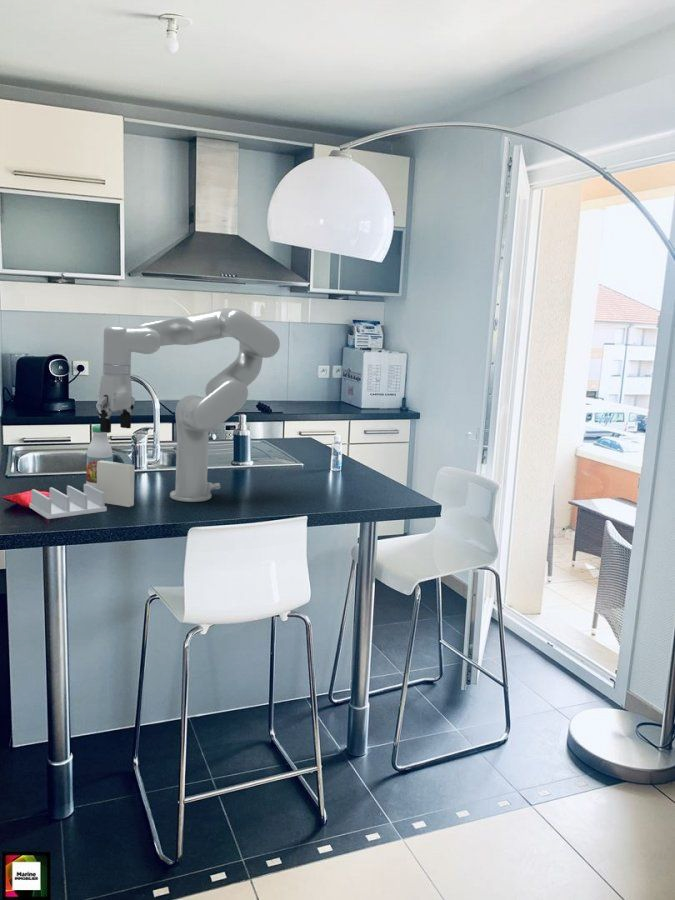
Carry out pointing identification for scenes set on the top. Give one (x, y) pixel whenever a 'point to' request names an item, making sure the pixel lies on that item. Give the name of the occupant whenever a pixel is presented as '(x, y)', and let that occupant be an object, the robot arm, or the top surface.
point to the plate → (116, 482)
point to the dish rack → (68, 502)
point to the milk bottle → (97, 454)
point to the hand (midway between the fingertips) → (115, 429)
